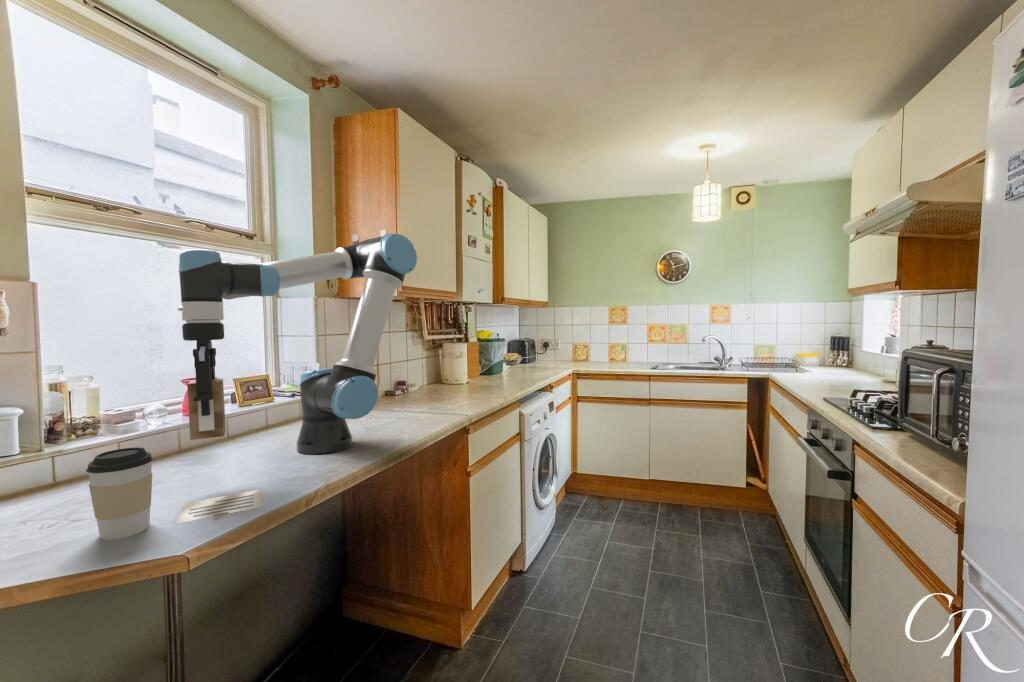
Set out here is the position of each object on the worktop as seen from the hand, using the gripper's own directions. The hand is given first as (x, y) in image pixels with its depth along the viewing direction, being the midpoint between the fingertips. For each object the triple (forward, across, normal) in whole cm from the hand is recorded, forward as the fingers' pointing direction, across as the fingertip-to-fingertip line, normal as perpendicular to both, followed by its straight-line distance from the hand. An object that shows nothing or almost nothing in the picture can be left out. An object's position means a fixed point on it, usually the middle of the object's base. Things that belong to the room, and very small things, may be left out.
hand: (208, 427), depth 101 cm
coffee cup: (+15, +16, -12) cm, 25 cm away
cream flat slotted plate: (+14, +12, +3) cm, 19 cm away
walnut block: (+2, 0, 0) cm, 2 cm away
